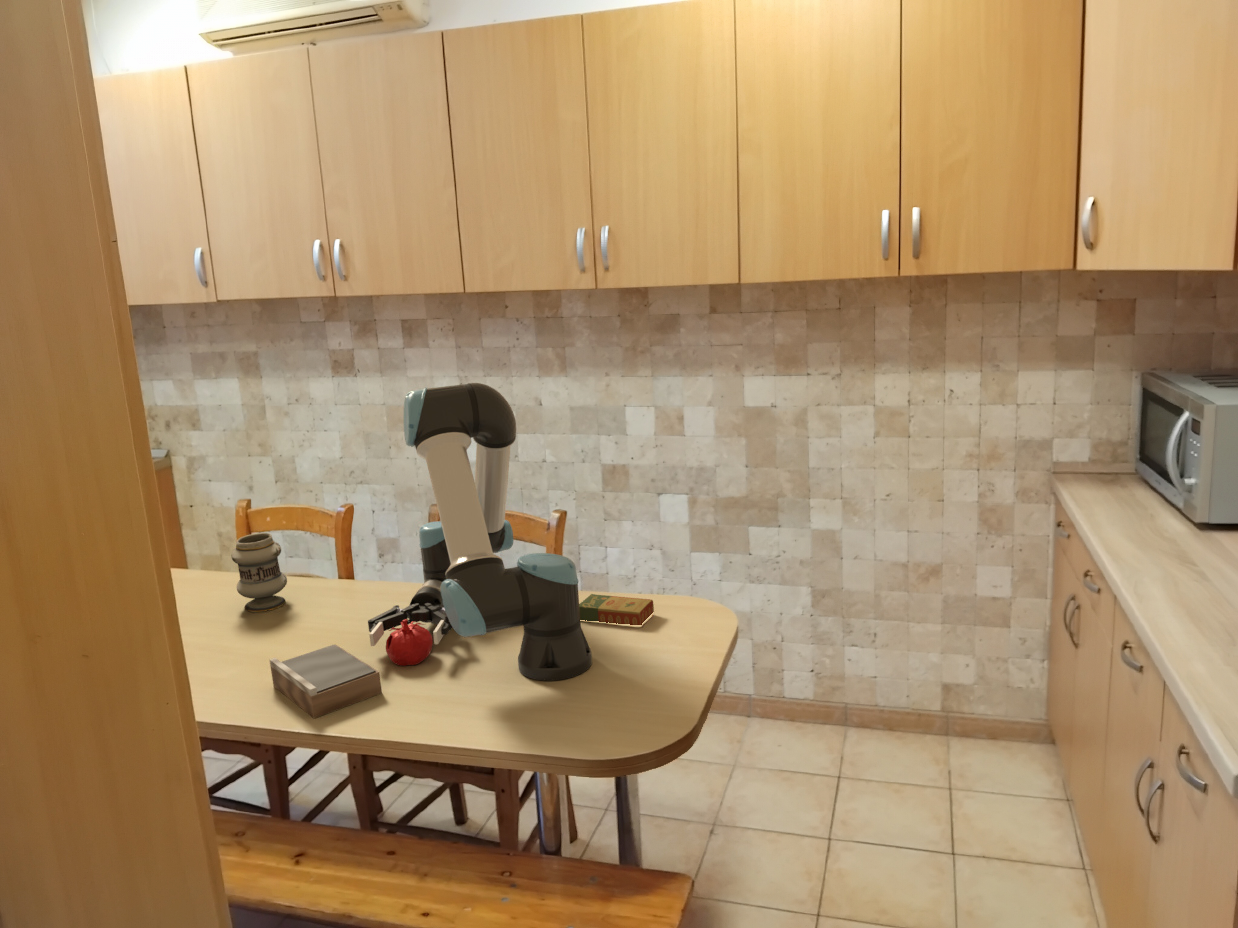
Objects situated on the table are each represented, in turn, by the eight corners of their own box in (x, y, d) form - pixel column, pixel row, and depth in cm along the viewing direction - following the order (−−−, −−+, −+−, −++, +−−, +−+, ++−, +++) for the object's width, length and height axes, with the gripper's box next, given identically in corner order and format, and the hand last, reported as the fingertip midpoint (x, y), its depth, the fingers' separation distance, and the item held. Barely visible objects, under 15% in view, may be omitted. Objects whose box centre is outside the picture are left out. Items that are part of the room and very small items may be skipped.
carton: (640, 629, 211) (639, 612, 210) (576, 622, 217) (574, 605, 216) (654, 615, 218) (653, 598, 217) (591, 609, 224) (590, 592, 224)
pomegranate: (443, 651, 205) (438, 611, 203) (418, 671, 196) (413, 629, 194) (403, 647, 208) (399, 608, 206) (378, 667, 199) (372, 625, 197)
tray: (381, 692, 187) (378, 665, 186) (314, 718, 178) (310, 689, 177) (337, 663, 202) (334, 638, 200) (273, 686, 193) (269, 659, 192)
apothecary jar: (230, 608, 239) (219, 540, 235) (272, 593, 248) (262, 527, 244) (257, 617, 232) (246, 547, 228) (299, 601, 241) (289, 533, 237)
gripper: (484, 615, 218) (464, 653, 197) (379, 618, 220) (347, 657, 199) (481, 584, 216) (460, 620, 196) (375, 588, 218) (343, 624, 198)
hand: (403, 639), depth 197 cm, fingers open, 13 cm apart
